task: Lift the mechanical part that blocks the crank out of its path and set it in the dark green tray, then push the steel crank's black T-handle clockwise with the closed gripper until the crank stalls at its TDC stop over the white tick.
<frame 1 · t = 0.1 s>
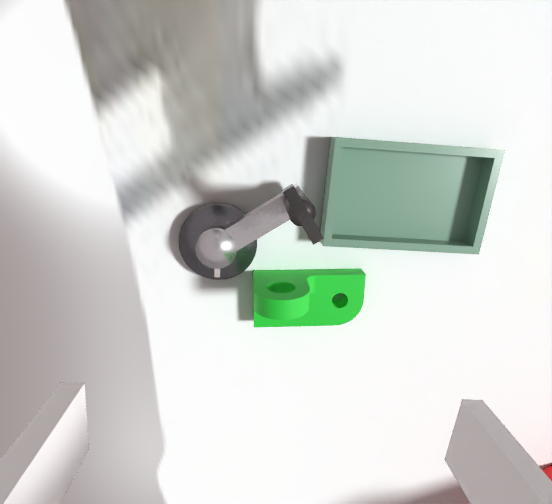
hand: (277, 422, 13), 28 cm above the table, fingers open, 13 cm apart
crank: (251, 234, 34), point 5 cm above the table, hinge at 125.0°
mechanical part: (306, 292, 43), on the table
tray: (402, 195, 39), on the table
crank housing: (219, 240, 40), on the table
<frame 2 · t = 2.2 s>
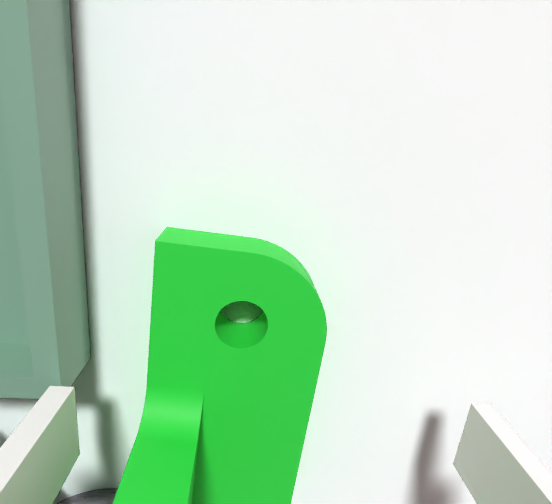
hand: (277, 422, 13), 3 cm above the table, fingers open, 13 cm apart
mechanical part: (232, 371, 16), on the table
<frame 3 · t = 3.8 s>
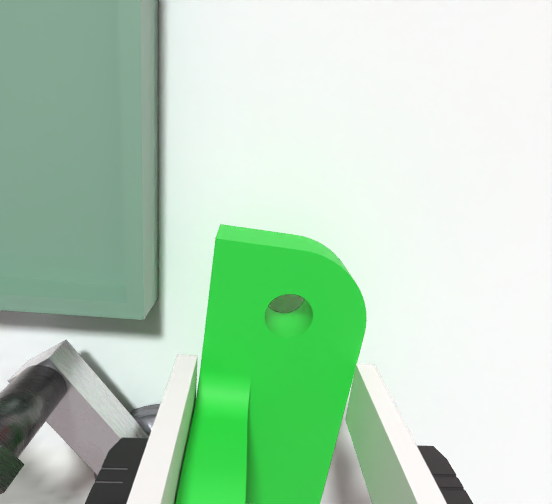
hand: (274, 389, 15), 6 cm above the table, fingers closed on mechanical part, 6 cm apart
crank: (87, 498, 17), point 6 cm above the table, hinge at 125.0°
mechanical part: (271, 360, 17), point 4 cm above the table, touching gripper
tray: (39, 123, 17), on the table
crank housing: (169, 457, 23), on the table
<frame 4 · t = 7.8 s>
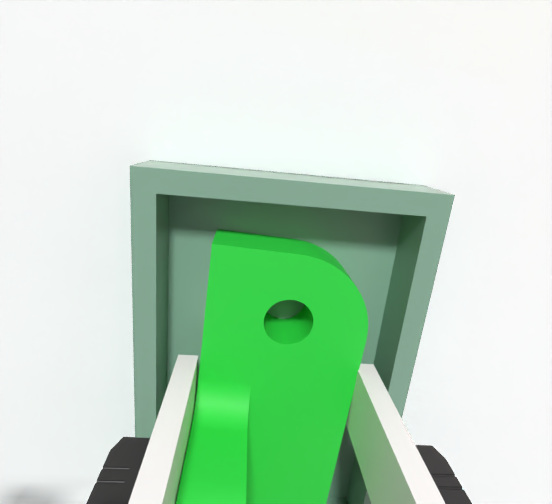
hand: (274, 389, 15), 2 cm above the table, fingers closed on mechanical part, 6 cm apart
mechanical part: (272, 366, 17), resting on tray, touching gripper
tray: (271, 360, 17), on the table
when the fingers open (3 cm above the table, at t = 8.9 s): mechanical part stays where it is, resting on tray.
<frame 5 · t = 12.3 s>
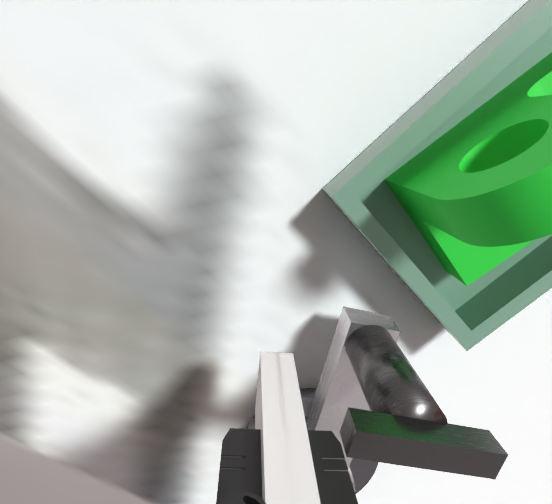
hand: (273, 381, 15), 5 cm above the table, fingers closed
crank: (350, 469, 17), point 6 cm above the table, hinge at 123.6°, touching gripper
mechanical part: (520, 149, 18), resting on tray
tray: (521, 151, 18), on the table
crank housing: (309, 443, 23), on the table
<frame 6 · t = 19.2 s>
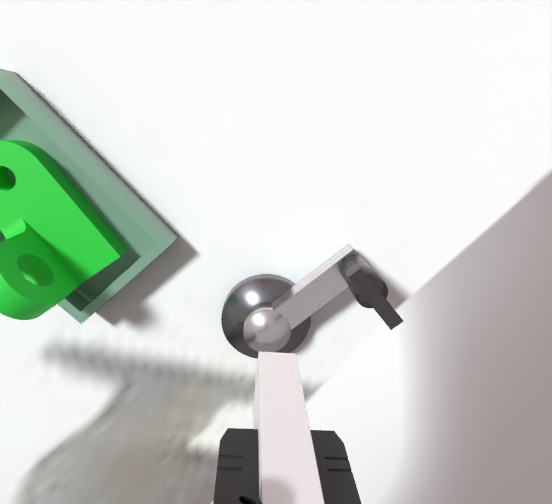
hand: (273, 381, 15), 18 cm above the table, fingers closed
crank: (308, 316, 29), point 6 cm above the table, hinge at -1.4°
mechanical part: (51, 210, 30), resting on tray
tray: (58, 203, 31), on the table
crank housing: (265, 314, 35), on the table
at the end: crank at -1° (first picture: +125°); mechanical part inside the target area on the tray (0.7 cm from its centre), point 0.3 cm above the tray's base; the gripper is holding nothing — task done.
